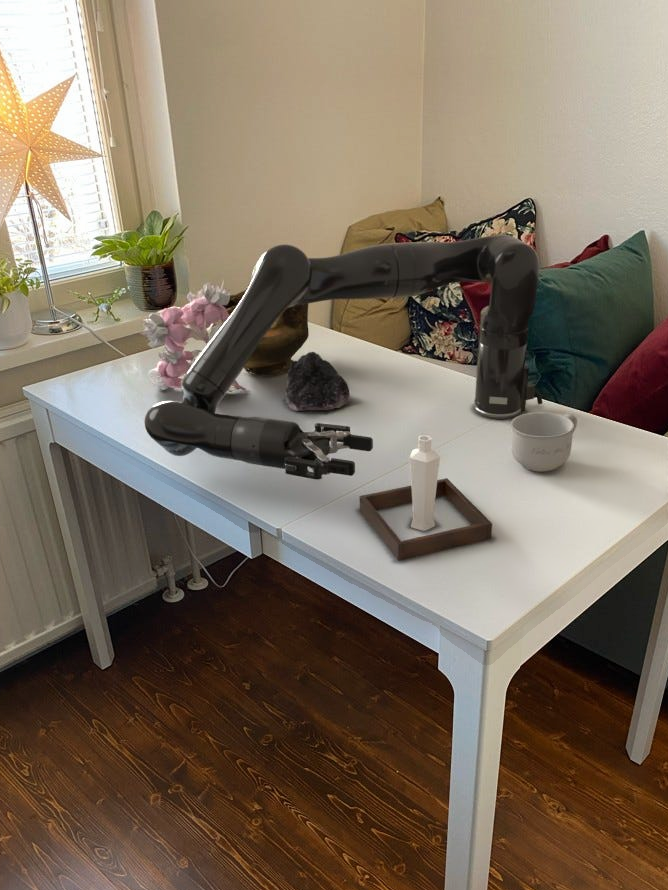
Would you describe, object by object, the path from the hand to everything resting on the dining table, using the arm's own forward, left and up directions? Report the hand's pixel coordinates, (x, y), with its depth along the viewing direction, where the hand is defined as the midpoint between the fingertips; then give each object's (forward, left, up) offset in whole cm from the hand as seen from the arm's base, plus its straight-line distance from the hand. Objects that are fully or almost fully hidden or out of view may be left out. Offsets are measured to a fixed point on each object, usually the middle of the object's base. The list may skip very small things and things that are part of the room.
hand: (363, 456), depth 135 cm
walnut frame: (-8, +6, -10) cm, 14 cm away
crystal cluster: (-8, -46, -11) cm, 47 cm away
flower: (+15, -60, -11) cm, 62 cm away
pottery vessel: (-4, -67, -11) cm, 67 cm away
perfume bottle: (-8, +6, -11) cm, 15 cm away
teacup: (-37, -5, -11) cm, 38 cm away
